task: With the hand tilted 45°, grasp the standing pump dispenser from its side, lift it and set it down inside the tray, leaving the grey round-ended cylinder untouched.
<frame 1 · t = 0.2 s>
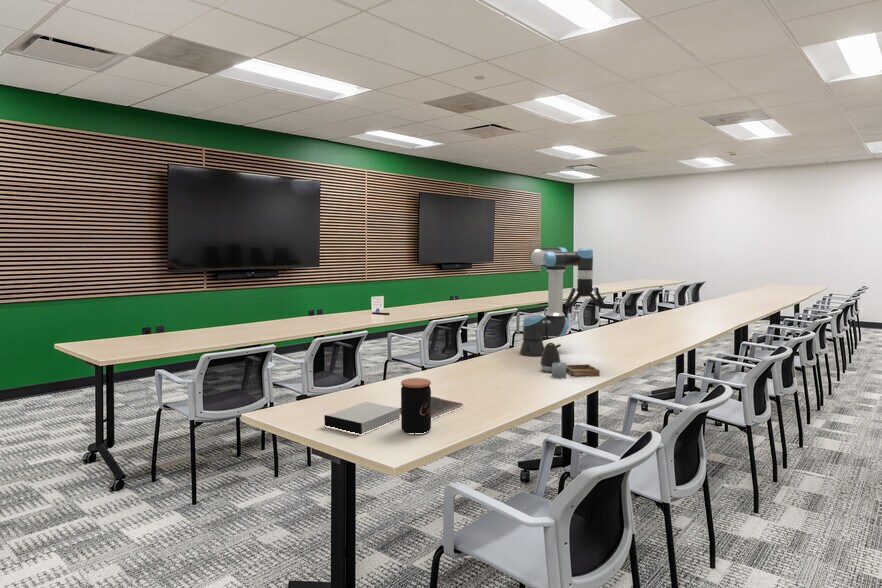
hand: (584, 319, 290), 28 cm above the table, tool pointing down, fingers open, 13 cm apart
disc drive: (363, 425, 208), on the table
coffee jar: (416, 431, 200), on the table
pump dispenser: (550, 371, 293), on the table
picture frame: (431, 412, 225), on the table
tray: (581, 373, 288), on the table
grey round-ended cylinder: (558, 377, 280), on the table
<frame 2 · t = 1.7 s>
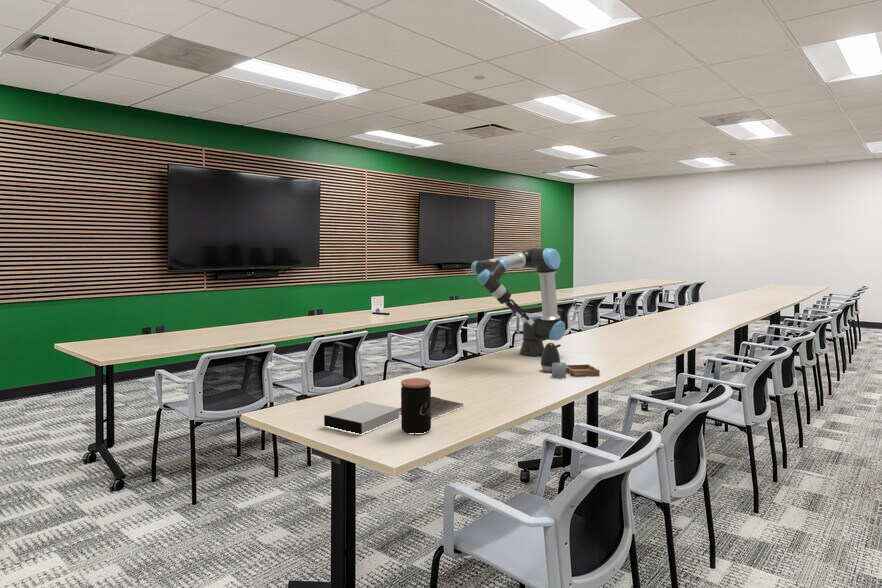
hand: (528, 322, 295), 26 cm above the table, tool tilted 45°, fingers open, 13 cm apart
nothing on the table moved.
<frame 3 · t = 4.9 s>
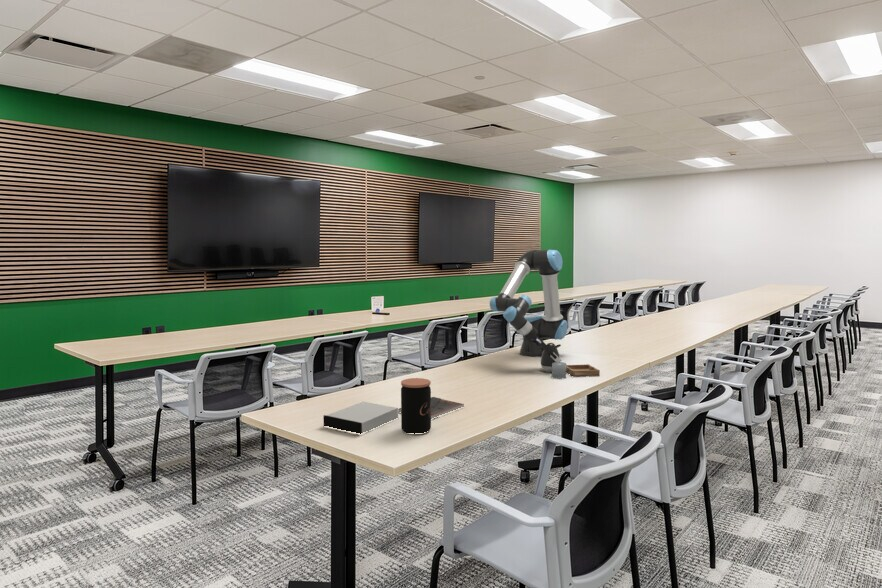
hand: (556, 360, 293), 6 cm above the table, tool tilted 45°, fingers closed on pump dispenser, 10 cm apart
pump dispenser: (550, 371, 293), on the table, touching gripper
everything else where it was.
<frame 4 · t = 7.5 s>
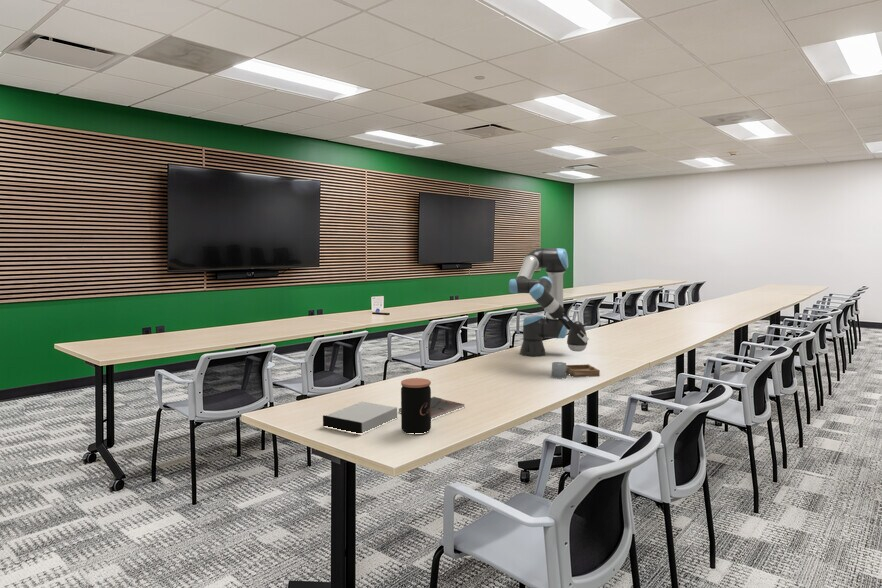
hand: (583, 339, 286), 18 cm above the table, tool tilted 45°, fingers closed on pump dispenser, 10 cm apart
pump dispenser: (577, 351, 287), point 12 cm above the table, touching gripper
everything else where it was.
when the fingers open (8 cm above the table, at t = 10.0 s): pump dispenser drops 1 cm, resting on tray.
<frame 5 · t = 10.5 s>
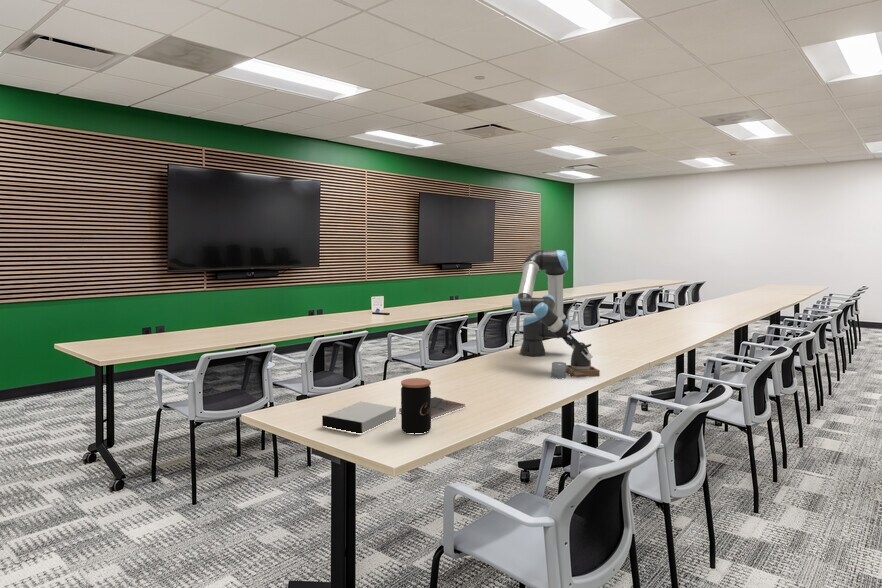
hand: (585, 355, 287), 9 cm above the table, tool tilted 45°, fingers open, 13 cm apart
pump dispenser: (580, 371, 288), point 1 cm above the table, touching tray
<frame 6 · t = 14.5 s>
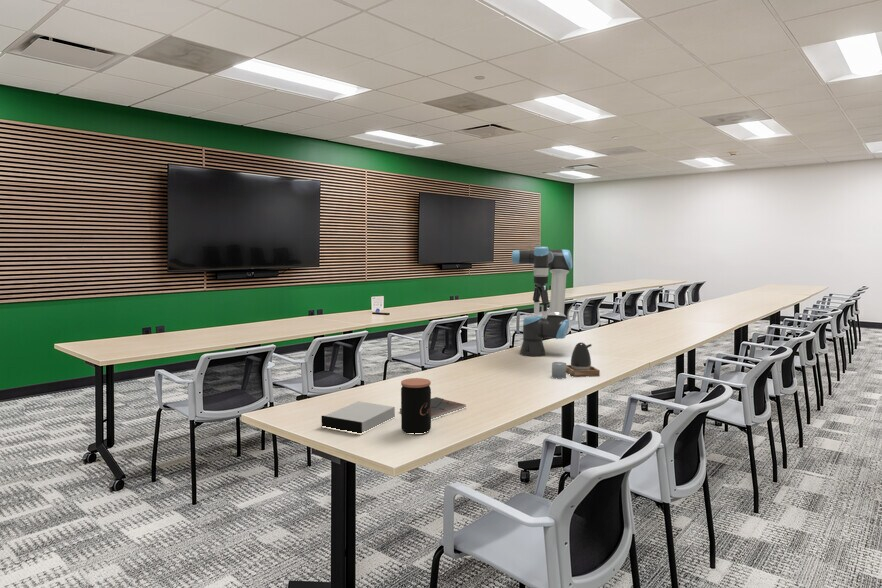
hand: (540, 315, 296), 29 cm above the table, tool pointing down, fingers open, 13 cm apart
at the end: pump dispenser inside the target area on the tray (0.1 cm from its centre), point 0.8 cm above the tray's base; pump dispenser tilted 0°; the gripper is holding nothing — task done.
